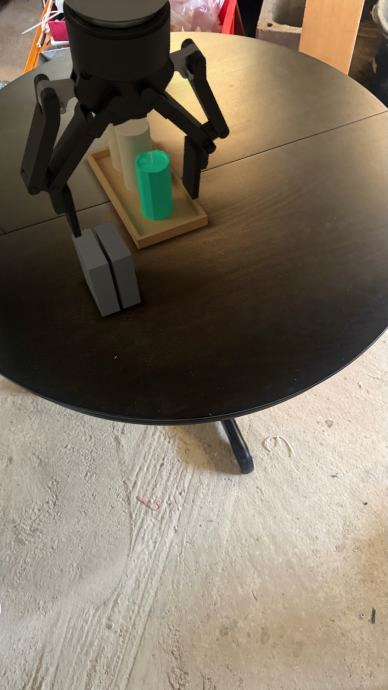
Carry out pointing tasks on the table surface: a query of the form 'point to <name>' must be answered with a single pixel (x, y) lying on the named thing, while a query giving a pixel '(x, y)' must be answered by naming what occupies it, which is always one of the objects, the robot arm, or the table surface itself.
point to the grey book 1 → (96, 272)
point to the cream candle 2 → (132, 148)
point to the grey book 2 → (119, 263)
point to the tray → (129, 205)
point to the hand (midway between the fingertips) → (134, 208)
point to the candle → (154, 184)
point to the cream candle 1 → (114, 147)
